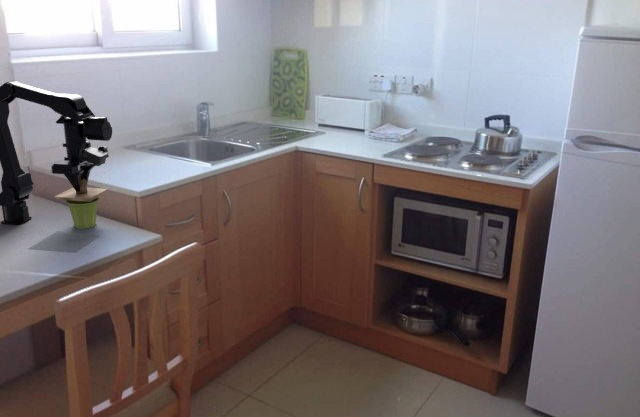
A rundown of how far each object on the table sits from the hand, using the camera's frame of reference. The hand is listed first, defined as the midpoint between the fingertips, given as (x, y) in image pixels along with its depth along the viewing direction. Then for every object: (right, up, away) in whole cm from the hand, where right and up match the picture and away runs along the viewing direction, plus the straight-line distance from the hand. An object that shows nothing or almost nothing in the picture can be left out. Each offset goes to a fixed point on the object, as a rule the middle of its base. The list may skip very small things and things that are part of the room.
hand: (81, 190), depth 174 cm
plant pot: (0, -11, +4) cm, 12 cm away
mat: (0, -15, -10) cm, 18 cm away
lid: (0, -1, 0) cm, 2 cm away
